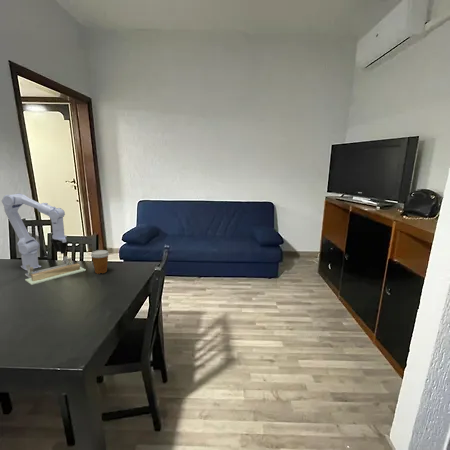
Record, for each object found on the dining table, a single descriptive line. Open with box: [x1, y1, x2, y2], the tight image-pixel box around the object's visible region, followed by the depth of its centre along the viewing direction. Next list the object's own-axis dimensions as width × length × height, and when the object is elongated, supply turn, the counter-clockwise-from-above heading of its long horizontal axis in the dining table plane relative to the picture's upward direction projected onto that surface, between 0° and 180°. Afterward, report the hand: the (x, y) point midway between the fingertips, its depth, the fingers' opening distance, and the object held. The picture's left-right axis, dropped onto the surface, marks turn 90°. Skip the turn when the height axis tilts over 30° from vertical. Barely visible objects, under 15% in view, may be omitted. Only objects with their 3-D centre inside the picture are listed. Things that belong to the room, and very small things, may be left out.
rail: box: [31, 262, 81, 281], centre depth 159 cm, size 3×24×3 cm, turn 141°
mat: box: [24, 266, 87, 286], centre depth 159 cm, size 9×28×1 cm, turn 141°
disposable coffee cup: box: [90, 249, 110, 275], centre depth 165 cm, size 10×10×12 cm
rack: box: [24, 255, 72, 278], centre depth 164 cm, size 7×23×6 cm, turn 141°
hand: (60, 252), depth 167 cm, fingers open, 7 cm apart
